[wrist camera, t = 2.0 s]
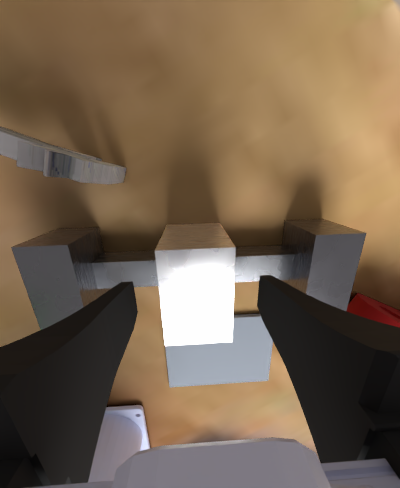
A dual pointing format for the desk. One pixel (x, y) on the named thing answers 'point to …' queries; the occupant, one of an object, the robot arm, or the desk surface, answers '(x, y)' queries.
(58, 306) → the vise
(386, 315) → the mechanical linkage
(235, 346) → the mat
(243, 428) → the desk surface
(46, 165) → the caliper
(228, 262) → the white block
